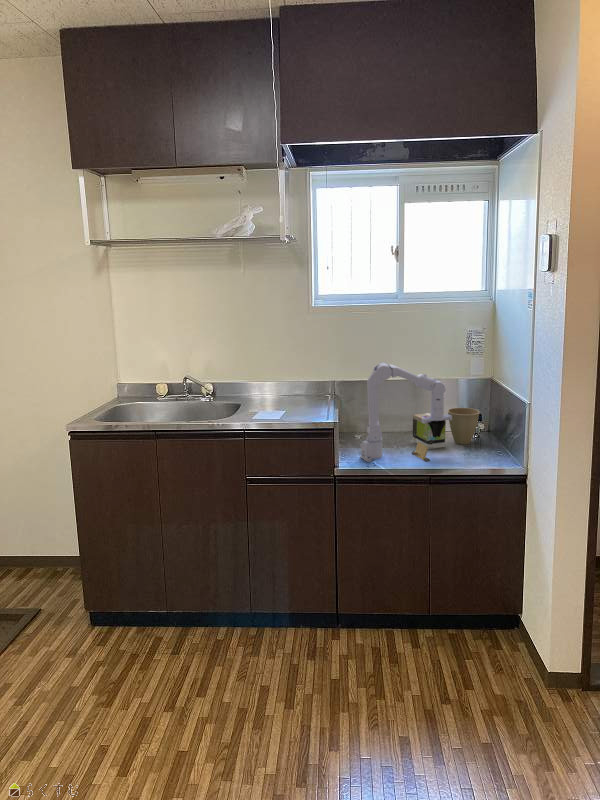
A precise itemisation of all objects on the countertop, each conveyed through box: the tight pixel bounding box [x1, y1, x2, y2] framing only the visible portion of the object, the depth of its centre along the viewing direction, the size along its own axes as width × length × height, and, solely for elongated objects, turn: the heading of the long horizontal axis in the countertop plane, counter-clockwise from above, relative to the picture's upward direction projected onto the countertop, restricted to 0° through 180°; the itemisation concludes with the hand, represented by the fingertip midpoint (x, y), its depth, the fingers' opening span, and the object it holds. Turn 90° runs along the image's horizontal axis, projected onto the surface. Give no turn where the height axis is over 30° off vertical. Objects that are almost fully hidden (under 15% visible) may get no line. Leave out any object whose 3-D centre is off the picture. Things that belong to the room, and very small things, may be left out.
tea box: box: [412, 412, 447, 450], centre depth 293 cm, size 15×10×15 cm, turn 18°
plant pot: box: [447, 407, 480, 445], centre depth 296 cm, size 15×15×16 cm
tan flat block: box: [413, 442, 429, 461], centre depth 274 cm, size 7×8×2 cm
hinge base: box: [411, 450, 431, 463], centre depth 276 cm, size 10×12×2 cm
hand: (436, 436), depth 275 cm, fingers closed
